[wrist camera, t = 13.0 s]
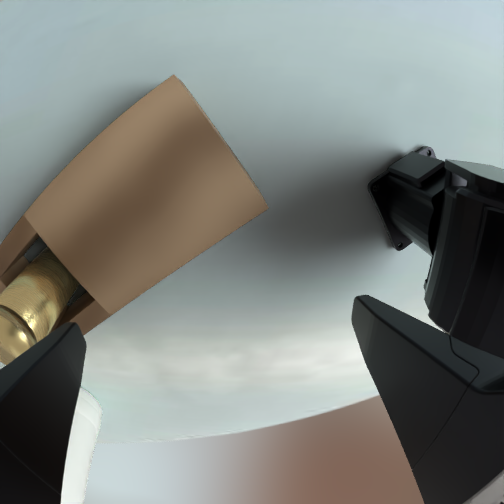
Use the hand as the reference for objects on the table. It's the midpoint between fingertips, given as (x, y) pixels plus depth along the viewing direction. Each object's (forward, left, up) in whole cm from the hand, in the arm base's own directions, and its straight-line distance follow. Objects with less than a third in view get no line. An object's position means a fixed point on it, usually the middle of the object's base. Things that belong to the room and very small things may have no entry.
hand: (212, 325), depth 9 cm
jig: (+3, +7, -13) cm, 15 cm away
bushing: (+3, +12, -13) cm, 18 cm away
